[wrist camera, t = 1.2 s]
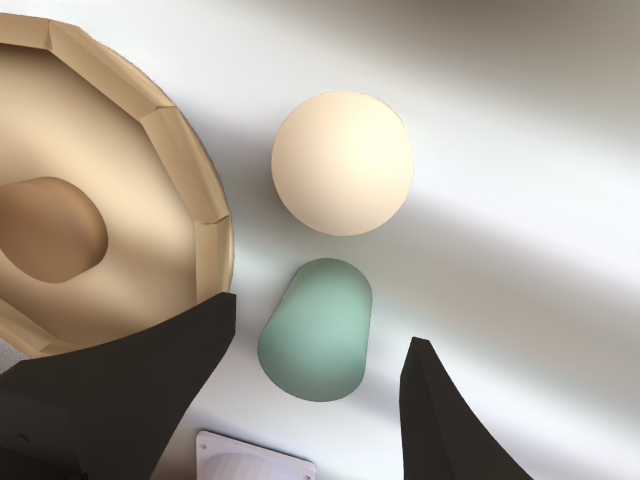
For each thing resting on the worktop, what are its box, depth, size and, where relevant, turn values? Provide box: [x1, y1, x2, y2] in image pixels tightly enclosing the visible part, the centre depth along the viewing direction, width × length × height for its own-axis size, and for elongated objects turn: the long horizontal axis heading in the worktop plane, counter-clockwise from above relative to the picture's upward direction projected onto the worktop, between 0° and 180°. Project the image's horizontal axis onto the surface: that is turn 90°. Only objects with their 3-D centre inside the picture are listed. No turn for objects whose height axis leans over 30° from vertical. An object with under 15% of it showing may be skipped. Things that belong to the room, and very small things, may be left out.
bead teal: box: [258, 258, 372, 402], centre depth 14 cm, size 4×4×4 cm
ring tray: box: [0, 12, 234, 359], centre depth 17 cm, size 18×18×2 cm
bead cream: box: [271, 91, 414, 236], centre depth 11 cm, size 4×4×4 cm
